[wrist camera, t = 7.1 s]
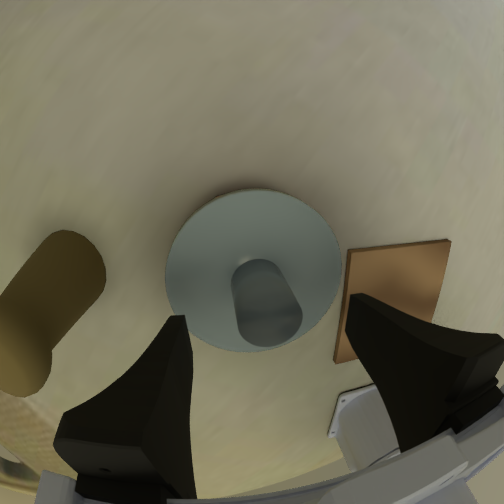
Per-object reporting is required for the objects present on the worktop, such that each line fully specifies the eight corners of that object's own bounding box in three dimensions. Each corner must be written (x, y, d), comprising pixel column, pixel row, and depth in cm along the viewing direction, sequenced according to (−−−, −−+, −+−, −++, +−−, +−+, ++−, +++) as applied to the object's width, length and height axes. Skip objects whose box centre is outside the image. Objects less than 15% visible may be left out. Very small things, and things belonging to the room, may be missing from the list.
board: (422, 335, 26) (425, 338, 25) (333, 360, 24) (335, 364, 24) (447, 239, 22) (451, 241, 21) (348, 249, 20) (351, 252, 20)
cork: (52, 214, 16) (-54, 287, 6) (119, 259, 18) (52, 373, 8) (31, 278, 17) (-44, 366, 7) (90, 318, 19) (40, 429, 9)
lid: (335, 322, 18) (364, 366, 14) (192, 353, 17) (192, 407, 13) (329, 175, 14) (373, 191, 10) (147, 209, 14) (122, 238, 10)
